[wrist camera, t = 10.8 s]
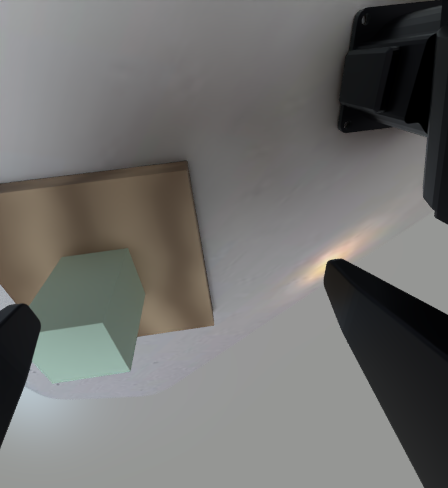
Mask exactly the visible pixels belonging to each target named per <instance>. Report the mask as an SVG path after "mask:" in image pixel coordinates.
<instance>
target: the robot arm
mask: <svg viewBox="0 0 448 488" xmlns="http://www.w3.org/2000/svg"><path fill="white" fill-rule="evenodd" d="M364 15H366V17H367V20H366V23H365V24H364V25H363V24H362V17H363V16H364ZM339 101H340V102H341V108H340V115H339V121H338V129H339V130H340V131H342V132H344V133H349V132H357V131H365V130H373V129H382V128H390V127H395V128H398V129H402V130H405V131H408V132H412V133H415V134H418V135H422V136H425V137H427V145H426V157H425V168H424V180H423V198H424V199H425V200H426V202H427V203H428V204H429V206H430V207H431V208H432V209H433V210H435V213H434V214H435V215H434V216H435V218H437V219H439V220H440V221H442V222H444V223H446V224H448V0H435V1H426V2H416V3H406V4H397V5H387V6H377V7H368V8H365V9H362V10H360V11H359V12H358V13H357V15H356V16H355V19H354V23H353V30H352V36H351V43H350V49H349V53H348V54H347V55H346V58H345V65H344V72H343V79H342V85H341V92H340V99H339ZM347 121H348V122H349V124H348V126H347V127H345V128H344V124H345V123H346V122H347ZM324 287H325V289H326V292H327V295H328V297H329V300H330V302H331V305H332V308H333V310H334V313H335V315H336V318H337V320H338V323H339V325H340V328H341V330H342V332H343V334H344V336H345V338H346V340H347V342H348V344H349V346H350V348H351V350H352V352H353V354H354V355H355V357H356V359H357V361H358V363H359V365H360V367H361V369H362V370H363V373H364V374H365V376H366V378H367V380H368V382H369V384H370V386H371V388H372V390H373V391H374V393H375V395H376V397H377V399H378V401H379V403H380V405H381V407H382V409H383V410H384V412H385V414H386V416H387V418H388V420H389V422H390V424H391V426H392V428H393V429H394V431H395V433H396V435H397V437H398V439H399V441H400V443H401V445H402V446H403V448H404V450H405V452H406V454H407V456H408V458H409V460H410V462H411V464H412V466H413V467H414V469H415V471H416V473H417V475H418V477H419V479H420V481H421V483H422V484H423V486H424V488H448V315H447V314H445V313H443V312H441V311H440V310H438V309H436V308H434V307H432V306H430V305H429V304H427V303H424V302H423V301H421V300H419V299H417V298H415V297H413V296H412V295H410V294H408V293H406V292H404V291H402V290H400V289H398V288H396V287H394V286H393V285H390V284H389V283H387V282H385V281H383V280H381V279H380V278H378V277H376V276H374V275H372V274H370V273H368V272H366V271H364V270H362V269H361V268H359V267H357V266H355V265H353V264H351V263H349V262H348V261H346V260H344V259H334V260H329V261H328V262H327V264H326V270H325V275H324ZM40 330H41V322H40V320H39V319H38V317H37V316H36V315H35V313H34V312H33V311H32V309H31V308H30V307H29V306H28V305H27V304H25V303H20V304H13V305H9V306H7V307H5V308H4V309H2V310H1V311H0V448H1V445H2V442H3V440H4V437H5V435H6V432H7V430H8V427H9V425H10V422H11V419H12V417H13V414H14V412H15V409H16V406H17V404H18V401H19V399H20V396H21V393H22V391H23V388H24V386H25V383H26V380H27V377H28V373H29V370H30V366H31V363H32V359H33V356H34V352H35V348H36V345H37V341H38V337H39V334H40Z"/></svg>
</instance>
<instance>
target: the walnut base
mask: <svg viewBox="0 0 448 488" xmlns="http://www.w3.org/2000/svg"><path fill="white" fill-rule="evenodd" d="M125 248H128V250H129V252H130V255H131V258H132V260H133V263H134V265H135V268H136V271H137V273H138V276H139V278H140V281H141V284H142V286H143V289H144V292H145V299H144V304H143V309H142V314H141V319H140V325H139V330H138V335H137V337H139V336H146V335H152V334H159V333H166V332H173V331H180V330H186V329H193V328H200V327H207V326H214V318H213V309H212V303H211V297H210V291H209V285H208V279H207V273H206V268H205V262H204V256H203V250H202V244H201V238H200V232H199V227H198V221H197V215H196V209H195V203H194V197H193V192H192V186H191V180H190V174H189V168H188V162H187V161H181V162H173V163H165V164H157V165H149V166H141V167H132V168H124V169H116V170H108V171H100V172H92V173H84V174H75V175H67V176H59V177H51V178H43V179H35V180H27V181H19V182H10V183H2V184H0V284H1V286H2V287H3V288H4V289H5V291H6V292H7V293H8V294H9V296H10V297H11V298H12V299H13V300H14V302H15V303H16V304H20V303H25V304H27V305H28V306H29V305H30V304H31V302H32V301H33V299H34V298H35V296H36V295H37V293H38V292H39V290H40V289H41V287H42V286H43V284H44V283H45V281H46V280H47V278H48V277H49V275H50V274H51V272H52V271H53V269H54V268H55V266H56V265H57V263H58V262H59V260H60V259H61V257H67V256H74V255H81V254H89V253H96V252H103V251H110V250H118V249H125Z"/></svg>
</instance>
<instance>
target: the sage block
mask: <svg viewBox="0 0 448 488" xmlns="http://www.w3.org/2000/svg"><path fill="white" fill-rule="evenodd" d="M144 299H145V292H144V289H143V286H142V284H141V281H140V278H139V276H138V273H137V271H136V268H135V265H134V263H133V260H132V258H131V255H130V252H129V250H128V248H125V249H118V250H110V251H103V252H96V253H89V254H81V255H74V256H67V257H61V259H60V260H59V262H58V263H57V265H56V266H55V268H54V269H53V271H52V272H51V274H50V275H49V277H48V278H47V280H46V281H45V283H44V284H43V286H42V287H41V289H40V290H39V292H38V293H37V295H36V296H35V298H34V299H33V301H32V302H31V304H30V305H29V307H30V308H31V309H32V311H33V312H34V313H35V315H36V316H37V317H38V319H39V320H40V322H41V330H40V334H39V337H38V341H37V345H36V348H35V352H34V356H33V359H32V362H33V363H34V364H35V365H36V366H37V367H38V368H39V370H40V371H41V372H42V373H43V374H44V375H45V376H46V377H47V378H48V379H49V380H50V381H51V382H52V383H53V384H54V383H60V382H67V381H73V380H79V379H86V378H92V377H99V376H105V375H112V374H118V373H125V372H130V371H131V366H132V360H133V355H134V350H135V345H136V340H137V335H138V330H139V325H140V319H141V314H142V309H143V304H144Z"/></svg>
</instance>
